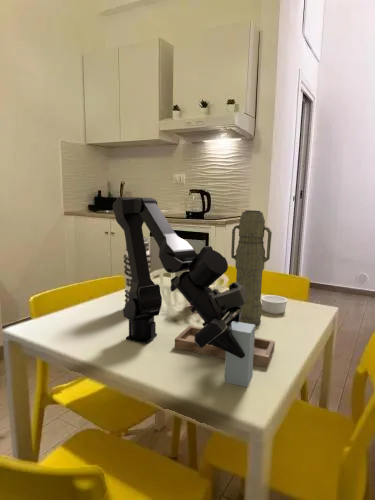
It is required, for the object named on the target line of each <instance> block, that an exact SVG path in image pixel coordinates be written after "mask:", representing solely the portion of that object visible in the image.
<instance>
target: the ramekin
mask: <svg viewBox="0 0 375 500" xmlns="http://www.w3.org/2000/svg"><path fill="white" fill-rule="evenodd" d="M261 303H262V312H266V313H268V314H271V315H272V314H274V315H279V314H280V315H281V314H284V313H285V312H286V308H287V303H288V299H287V298H286V297H284V296H281V295H275V294H270V295H269V294H268V295H263V296H261Z"/></svg>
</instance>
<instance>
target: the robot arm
mask: <svg viewBox="0 0 375 500" xmlns="http://www.w3.org/2000/svg"><path fill="white" fill-rule="evenodd" d="M112 212H113V214H114V217H115V220H116V223H117V224H118V225H119V226H120V228H121V229H122V230H123V232H124V239H125V247H126V246H127V252H128V258H129V264H130V269H131V275H132V282H133V283H132V285H131V288H130V291H129V293H128V294H129V302H128V303H127V304H126V306H125V305H124V307H123V308H122V313H123V317H124V319H127V320H128V335H127V336H126V337H125V340H126V341H131V342H136V343H142V344H148V343H149V342H150V341H152V340H153V339H154V338H155V337H157V335H158V334H157V333H156V328H157V327H156V326H157V325H156V321H155V317H156V316H159V315H160V312H161V308H162V303H163V297H162V293H161V287H160V285H159V283H156V284H155V282H154V280H152V277H151V271H150V268H149V266H148V265H149V263H148V260H149V259H148V260H147V254H146V249H145V243H144V237H145V236H144V233H143V232H144V231H143V224H145V226H146V227H147V229H148V230H149V232H150V234H151V235H152V237H153V239H154V240H155V243H156V244H157V246H158V248H159V251H158V258H159V261H160V263H161V264H162V266H163V269H164V270H165V271H166V272H167V273H168V274H169V273H170V274H175V273H181V274H180V275H179V276H177V275H176V276H174V277H172V278H171V279H170V291H171V292H174V291H176V290H178V291H179V293H180V294H181V295H182V296H183V297H184V298H185V300H186V301H187V302H188V304H189V306H190V305H191V306H192V308H191V307H190V309H189V311H191V313H192V314H194V313H195V312H196V313H197V314H198V316H199V317H200V318H201V319H202V320H203V322H202V324H201V325H202V326H203V327H200V328H201V329H200V330H199V331H198V332H197V333H196V334H195V342H196V344H197V345H198V346H199V347H200V349H201V348H202V347H204V346H205V345H206V344H208V345H213V346H215V347H218V348H220V349H223V350H225V351H227V352H229V353H231V354H233V355H235V356H237V357H239V358H243V357H245V354H244V352H243V350H242V348H241V347H240V345H239V344H238V342H237V341H236V339H235V338H234V336H233V335H232V324H231V323H232V322H233V321H236V322H241V313H242V311H240V312H239V313H236V311H237V310H238V309H241V308H242V306H243V304H245V301H246V300H248V298H247V295H246V293H245V292H246V288H244V287H243V285H240V284H239V283H238V282H236V281H234V282H231V283H230V284H229V287H228V289H226V290H225V291H222V292H220V291H219V289H217V288H213V289H212V288H211V287H210V286H212V285H213V284H214V283H215V282H216V281H217V280H218V279H220V278H221V277H222V276H223V275H224V274H225V273H226V272H227V271H228V270H229V269H228V268H229V264H228V260H227V258H226V257H224V256H223V254H221V253H220V252H218V251H217V250H214V249H213V247H212V246H211V245H207V246H203V247H202V248H201V249H200V250H199V251H200V252H199V251H198V252H199V254H198V252H197V251H195V249H194V248H193V246H192V245H191V244H190V243H189V242H188V241H187V240H186V239H183V238H181V237H180V236H179V235H178V234H177V233H176V232H175V230H174V229H173V228H172V226H171V224H170V222H169V221H168V220H167V218H166V217H165V215H164V213H163V212H162V211H161V208H159V205H158V201H157V199H155V198H153V197H139V196H119V197H117V198H116V199H115V200H114V201H113V203H112ZM149 271H150V272H149Z"/></svg>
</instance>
